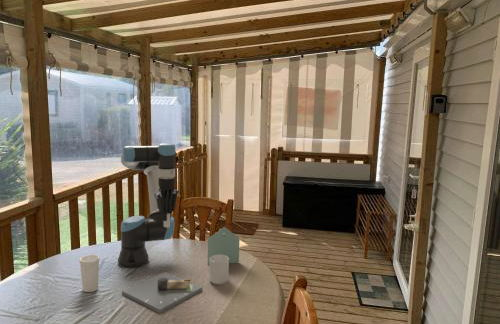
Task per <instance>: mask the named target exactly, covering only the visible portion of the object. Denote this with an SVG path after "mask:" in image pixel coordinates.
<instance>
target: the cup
mask: <svg viewBox="0 0 500 324" xmlns="http://www.w3.org/2000/svg"><path fill="white" fill-rule="evenodd" d="M100 260H101V259H100V256H99V255H97V254H87V255H84V256H81V257H80V258H79V264H80V275H81V286H82V292H85V293H92V292H94V291H97V290H98V289H99V279H100V278H99V276H100V274H99V271H100Z"/></svg>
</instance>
